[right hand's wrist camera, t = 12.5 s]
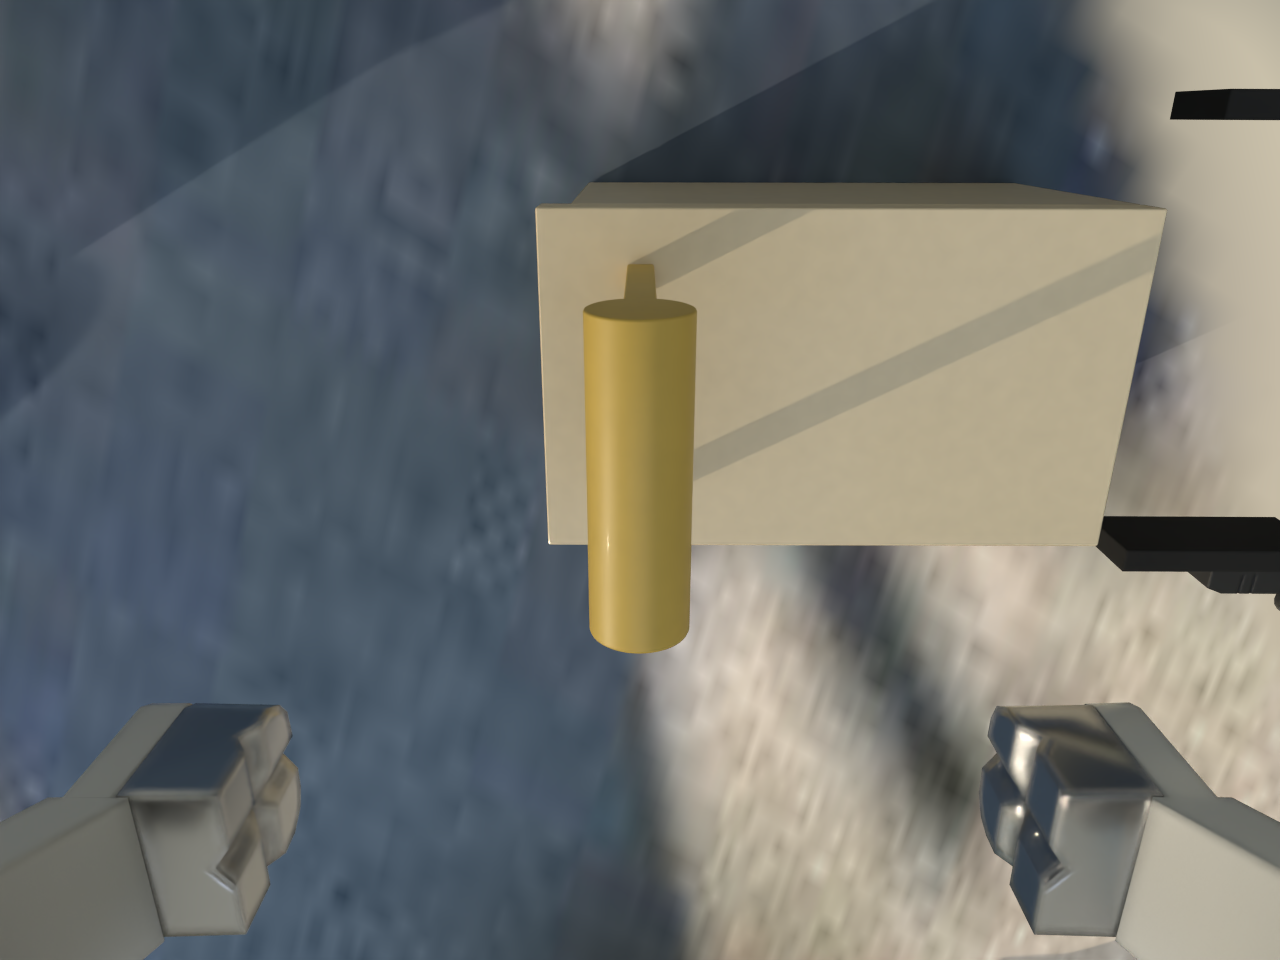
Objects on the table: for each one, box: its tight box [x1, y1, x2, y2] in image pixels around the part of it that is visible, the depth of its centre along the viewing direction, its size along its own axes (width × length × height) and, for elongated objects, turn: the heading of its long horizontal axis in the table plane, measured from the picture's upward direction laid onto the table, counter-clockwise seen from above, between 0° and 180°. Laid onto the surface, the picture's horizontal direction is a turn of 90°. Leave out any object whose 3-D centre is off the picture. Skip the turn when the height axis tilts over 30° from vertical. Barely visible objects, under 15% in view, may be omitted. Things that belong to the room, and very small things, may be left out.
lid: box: [535, 204, 1167, 653], centre depth 22 cm, size 16×10×9 cm, turn 90°
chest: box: [571, 182, 1140, 205], centre depth 30 cm, size 15×10×9 cm, turn 90°
